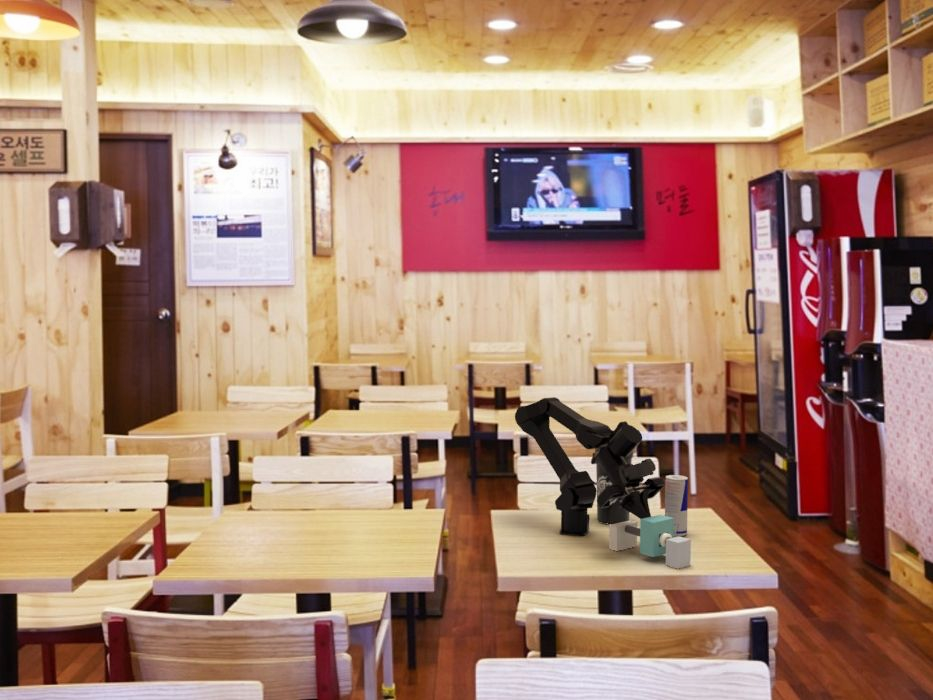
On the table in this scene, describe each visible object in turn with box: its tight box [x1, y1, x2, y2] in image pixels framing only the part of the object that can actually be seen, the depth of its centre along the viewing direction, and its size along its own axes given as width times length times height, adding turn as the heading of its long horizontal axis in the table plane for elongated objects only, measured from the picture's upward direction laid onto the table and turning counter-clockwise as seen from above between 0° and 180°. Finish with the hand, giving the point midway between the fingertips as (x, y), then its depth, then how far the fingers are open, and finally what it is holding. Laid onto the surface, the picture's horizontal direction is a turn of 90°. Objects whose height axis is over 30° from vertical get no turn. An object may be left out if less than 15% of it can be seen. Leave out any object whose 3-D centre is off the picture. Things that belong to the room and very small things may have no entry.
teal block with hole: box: [639, 514, 675, 558], centre depth 209 cm, size 4×7×8 cm, turn 127°
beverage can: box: [664, 474, 689, 537], centre depth 230 cm, size 6×6×15 cm
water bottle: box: [594, 448, 634, 525], centre depth 242 cm, size 10×10×23 cm
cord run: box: [608, 519, 692, 570], centre depth 211 cm, size 20×7×7 cm, turn 37°
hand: (649, 521), depth 211 cm, fingers closed, pressing on teal block with hole
